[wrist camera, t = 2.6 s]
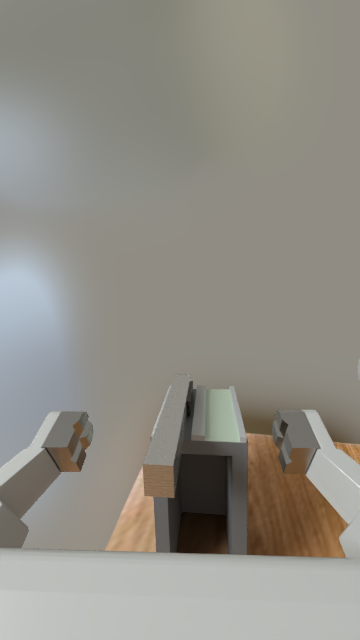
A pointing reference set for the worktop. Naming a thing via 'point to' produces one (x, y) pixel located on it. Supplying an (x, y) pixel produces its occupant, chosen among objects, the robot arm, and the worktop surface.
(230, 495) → the tall grey pillar
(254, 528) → the worktop surface
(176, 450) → the brushed metal post
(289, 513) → the worktop surface
